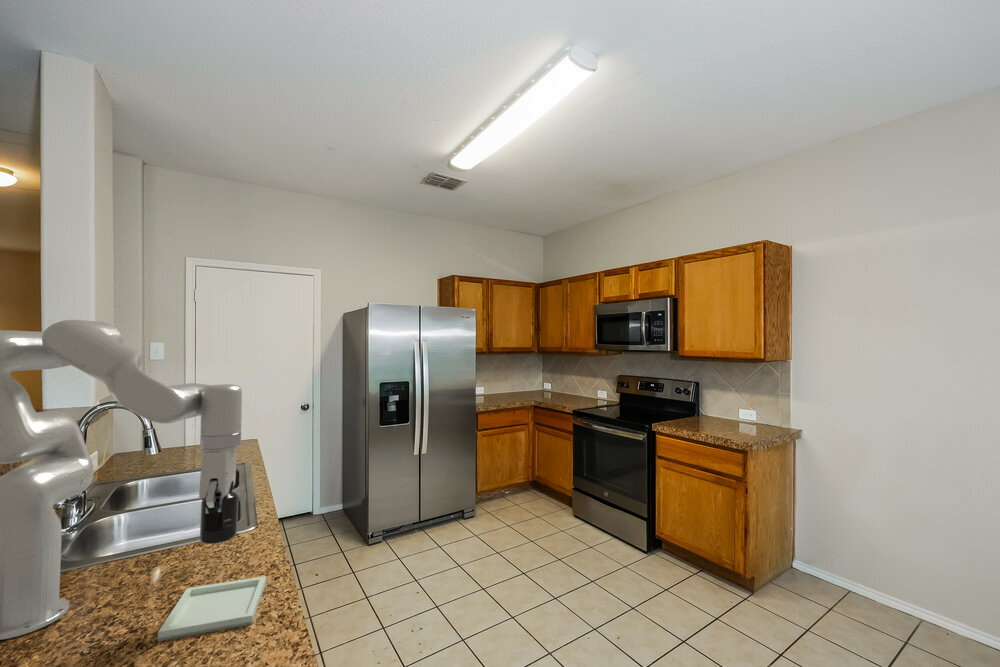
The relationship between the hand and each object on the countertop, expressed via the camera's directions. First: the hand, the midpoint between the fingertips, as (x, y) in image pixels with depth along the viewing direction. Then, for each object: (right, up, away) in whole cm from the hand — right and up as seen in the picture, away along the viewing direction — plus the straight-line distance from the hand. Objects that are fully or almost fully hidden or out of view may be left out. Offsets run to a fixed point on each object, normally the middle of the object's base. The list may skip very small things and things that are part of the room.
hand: (219, 523), depth 94 cm
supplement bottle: (0, -3, 0) cm, 3 cm away
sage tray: (0, -18, -1) cm, 18 cm away
